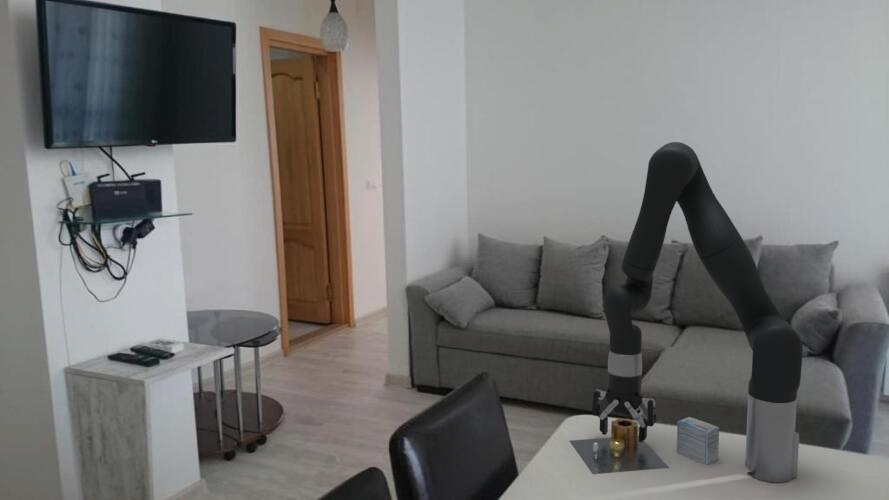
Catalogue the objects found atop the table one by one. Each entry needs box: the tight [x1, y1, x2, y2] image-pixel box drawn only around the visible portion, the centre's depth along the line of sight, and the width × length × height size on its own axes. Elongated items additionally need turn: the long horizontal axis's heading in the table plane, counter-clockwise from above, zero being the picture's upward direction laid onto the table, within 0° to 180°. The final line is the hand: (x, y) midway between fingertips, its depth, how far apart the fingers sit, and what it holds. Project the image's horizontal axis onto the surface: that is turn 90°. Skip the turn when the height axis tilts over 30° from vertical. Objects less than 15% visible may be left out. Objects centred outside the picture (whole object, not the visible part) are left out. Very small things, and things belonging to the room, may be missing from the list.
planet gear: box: [610, 418, 639, 450], centre depth 162 cm, size 6×6×5 cm
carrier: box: [569, 434, 670, 475], centre depth 157 cm, size 17×17×5 cm
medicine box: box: [676, 416, 720, 465], centre depth 155 cm, size 8×4×9 cm, turn 34°
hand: (622, 437), depth 162 cm, fingers open, 8 cm apart
